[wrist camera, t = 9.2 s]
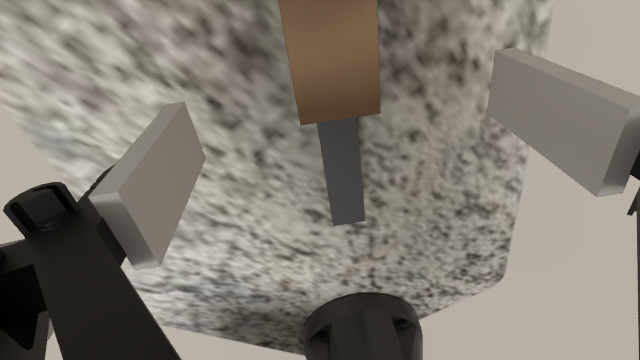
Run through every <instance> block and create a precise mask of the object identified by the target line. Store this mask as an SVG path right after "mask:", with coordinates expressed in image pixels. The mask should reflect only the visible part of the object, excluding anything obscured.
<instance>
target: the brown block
mask: <svg viewBox="0 0 640 360" xmlns="http://www.w3.org/2000/svg"><path fill="white" fill-rule="evenodd" d="M278 1H279V7H280V12H281V18H282V24H283V29H284V35H285V40H286V46H287V52H288V57H289V63H290V68H291V74H292V80H293V85H294V91H295V97H296V102H297V108H298V113H299V119H300V125H306V124H312V123H319V122H326V121H332V120H339V119H346V118H352V117H359V116H366V115H372V114H379V113H380V79H379V45H378V11H377V0H278Z"/></svg>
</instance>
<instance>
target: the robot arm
mask: <svg viewBox="0 0 640 360" xmlns="http://www.w3.org/2000/svg"><path fill="white" fill-rule="evenodd" d="M487 113H488V114H489V115H490V116H492V117H493V118H494V119H496V120H497V121H498V122H500V123H501V124H502V125H503V126H505V127H506V128H507V129H509V130H510V131H511V132H513V133H514V134H515V135H516V136H518V137H519V138H520V139H522V140H523V141H524V142H526V143H527V144H528V145H529V146H531V147H532V148H533V149H535V150H536V151H537V152H539V153H540V154H541V155H542V156H544V157H545V158H546V159H548V160H549V161H550V162H552V163H553V164H554V165H555V166H557V167H558V168H559V169H561V170H562V171H563V172H565V173H566V174H567V175H568V176H570V177H571V178H572V179H574V180H575V181H576V182H578V183H579V184H580V185H581V186H583V187H584V188H585V189H587V190H588V191H589V192H591V193H592V194H593V195H595V196H596V197H601V196H606V195H613V194H619V193H623V191H624V188H625V186H626V184H627V182H628V179H629V177H630V175H632V176H634V177H635V178H637V179H638V180H640V96H638V95H635V94H633V93H630V92H628V91H625V90H622V89H620V88H617V87H614V86H612V85H609V84H607V83H604V82H601V81H599V80H596V79H594V78H591V77H589V76H586V75H583V74H581V73H578V72H576V71H573V70H571V69H568V68H565V67H563V66H560V65H557V64H555V63H552V62H550V61H547V60H545V59H542V58H540V57H537V56H534V55H532V54H529V53H527V52H524V51H521V50H519V49H516V48H508V49H502V50H496V51H495V57H494V65H493V72H492V79H491V86H490V93H489V101H488V108H487ZM205 159H206V158H205V155H204V152H203V150H202V147H201V144H200V142H199V139H198V136H197V134H196V131H195V128H194V126H193V123H192V120H191V118H190V115H189V112H188V110H187V107H186V104H185V102H180V103H173V104H167V105H166V106H165V107H164V108H163V109H162V111H161V112H160V113H159V114H158V115H157V116H156V118H155V119H154V120H153V121H152V122H151V123H150V125H149V126H148V127H147V128H146V129H145V130H144V132H143V133H142V134H141V135H140V136H139V138H138V139H137V140H136V141H135V142H134V143H133V145H132V146H131V147H130V148H129V149H128V150H127V152H126V153H125V154H124V155H123V156H122V157H121V159H120V160H119V161H118V162H117V163H116V164H115V165H113V166H112V167H110V168H109V169H107V170H106V171H104V172H103V173H102V175H101V176H100V177H99V178H98V179H97V180H96V182H95V183H94V184H93V185H92V186H91V187H90V190H87V192H86V193H85V194H84V195H83V196H82V197H81V198H80V200H79V201H78V202H76V200H75V199H74V197H73V196H72V195H71V193H70V192H69V190H68V189H67V187H66V186H65V184H63V183H61V182H52V183H47V184H42V185H40V186H37V187H34V188H31V189H29V190H27V191H25V192H23V193H21V194H19V195H18V196H16V197H14V198H13V199H12V200H10V201H9V202H8V203H7V204H6V205H5V207H4V210H3V212H4V213H5V214H6V215H7V216H8V217H9V219H10V220H11V221H12V222H13V223H14V225H15V226H16V227H17V228H18V229H19V231H20V232H21V233H22V234H23V235H24V237H25V240H23V241H20V242H17V243H14V244H11V245H8V246H5V247H2V248H0V360H45V353H46V345H47V337H48V330H49V322H50V319H51V322H52V325H53V328H54V332H55V335H56V338H57V341H58V344H59V347H60V351H61V354H62V357H63V360H181V358H180V357H179V355H178V353H177V352H176V350H175V349H174V347H173V346H172V344H171V343H170V341H169V340H168V339H167V337H166V335H165V334H164V332H163V331H162V329H161V328H160V326H159V325H158V323H157V322H156V320H155V319H154V317H153V316H152V314H151V313H150V311H149V309H148V308H147V306H146V305H145V303H144V302H143V300H142V299H141V297H140V296H139V294H138V293H137V291H136V290H135V288H134V287H133V285H132V284H131V282H130V281H129V279H128V278H127V276H126V275H125V273H124V272H123V270H122V269H121V267H120V266H121V265H122V263H123V261H124V259H125V257H127V258H128V260H129V261H130V263H131V265H132V266H133V268H134V269H135V270H139V269H145V268H152V267H158V266H160V265H161V263H162V261H163V258H164V256H165V253H166V251H167V249H168V246H169V244H170V242H171V239H172V237H173V235H174V232H175V230H176V227H177V225H178V223H179V220H180V218H181V216H182V213H183V211H184V209H185V206H186V204H187V201H188V199H189V197H190V194H191V192H192V190H193V187H194V185H195V182H196V180H197V178H198V175H199V173H200V171H201V168H202V166H203V164H204V161H205ZM635 211H637V258H638V319H639V320H638V324H639V360H640V187H639V190H638V192H637V194H636V196H635V199H634V200H633V203H632V205H631V207H630V209H629V211H628V213H627V215H633V213H634V212H635ZM422 340H423V338H422V330H421V326H420V323H419V321H418V318H417V315H416V312H415V311H414V309H413V308H412V307H411V306H410V305H409V304H408V303H406V302H404V301H403V300H401V299H398V298H396V297H392V296H388V295H383V294H358V295H352V296H347V297H343V298H340V299H337V300H334V301H332V302H330V303H328V304H326V305H324V306H322V307H321V308H319V309H318V310H317V311H315V312H314V313H313V314H312V315H311V316H310V317H309V319H308V320H307V322H306V324H305V326H304V330H303V344H304V353H305V356H306V359H307V360H423V353H422V352H423V346H422V345H423V341H422Z"/></svg>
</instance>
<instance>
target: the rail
mask: <svg viewBox="0 0 640 360" xmlns="http://www.w3.org/2000/svg"><path fill="white" fill-rule="evenodd" d="M317 125H318V132H319V138H320V144H321V151H322V157H323V163H324V170H325V176H326V182H327V189H328V195H329V202H330V208H331V214H332V221H333V226H336V225H343V224H349V223H356V222H362V221H365V211H364V199H363V187H362V176H361V164H360V152H359V140H358V128H357V117H352V118H346V119H339V120H332V121H326V122H319V123H317Z"/></svg>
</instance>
